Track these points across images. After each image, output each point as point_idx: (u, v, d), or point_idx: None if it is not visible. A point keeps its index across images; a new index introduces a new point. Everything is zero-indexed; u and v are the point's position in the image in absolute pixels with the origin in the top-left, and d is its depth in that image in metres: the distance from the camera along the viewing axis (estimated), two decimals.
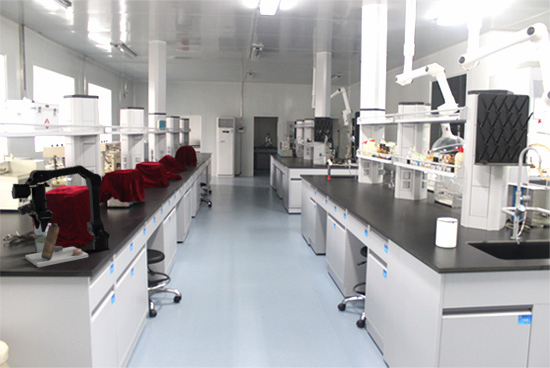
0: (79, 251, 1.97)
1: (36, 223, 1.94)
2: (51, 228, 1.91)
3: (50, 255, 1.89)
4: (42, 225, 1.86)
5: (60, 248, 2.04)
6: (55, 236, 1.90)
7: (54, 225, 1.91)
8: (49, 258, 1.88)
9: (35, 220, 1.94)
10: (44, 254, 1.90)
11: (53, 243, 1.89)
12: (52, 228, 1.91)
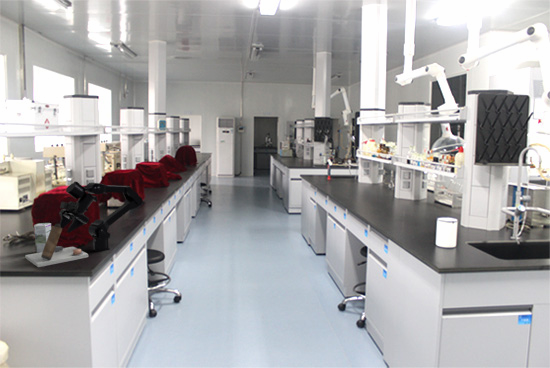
0: (79, 251, 1.97)
1: (61, 224, 2.00)
2: (54, 228, 1.92)
3: (50, 255, 1.89)
4: (72, 226, 1.94)
5: (60, 248, 2.04)
6: (57, 236, 1.91)
7: (57, 225, 1.93)
8: (49, 258, 1.88)
9: (62, 222, 2.00)
10: (44, 254, 1.90)
11: (54, 243, 1.90)
12: (55, 228, 1.92)
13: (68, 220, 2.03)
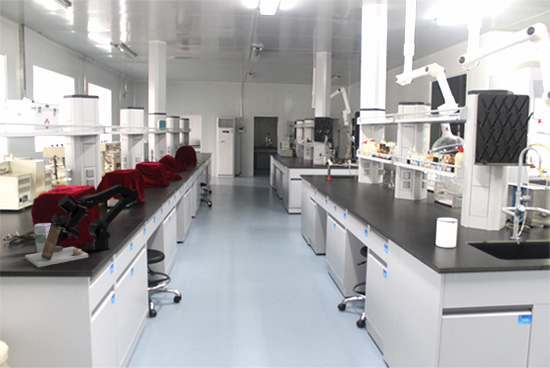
0: (79, 251, 1.97)
1: None
2: (52, 228, 1.92)
3: (50, 255, 1.89)
4: (58, 239, 1.93)
5: (60, 248, 2.04)
6: (56, 236, 1.91)
7: (56, 225, 1.92)
8: (49, 258, 1.88)
9: None
10: (44, 254, 1.90)
11: (53, 243, 1.90)
12: (54, 228, 1.91)
13: None
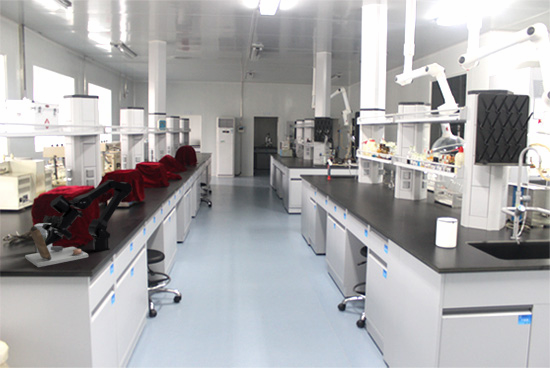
0: (79, 251, 1.97)
1: None
2: (32, 232, 1.85)
3: (48, 255, 1.88)
4: (49, 239, 1.90)
5: (60, 248, 2.04)
6: (41, 238, 1.85)
7: (33, 229, 1.84)
8: (49, 258, 1.88)
9: None
10: (42, 256, 1.89)
11: (43, 245, 1.86)
12: (33, 232, 1.84)
13: None
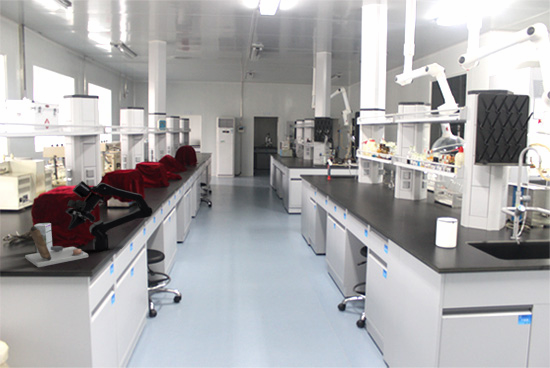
0: (79, 251, 1.97)
1: None
2: (32, 232, 1.85)
3: (48, 255, 1.88)
4: (74, 223, 2.00)
5: (60, 248, 2.04)
6: (41, 238, 1.85)
7: (33, 229, 1.84)
8: (49, 258, 1.88)
9: None
10: (42, 256, 1.89)
11: (43, 245, 1.86)
12: (33, 233, 1.84)
13: None
